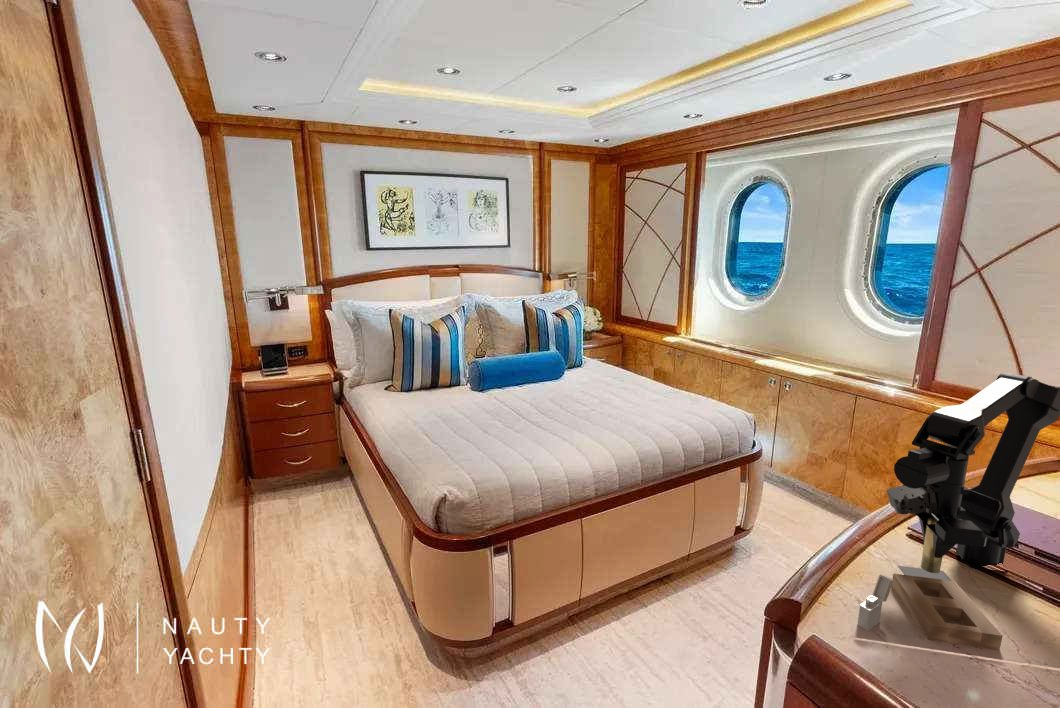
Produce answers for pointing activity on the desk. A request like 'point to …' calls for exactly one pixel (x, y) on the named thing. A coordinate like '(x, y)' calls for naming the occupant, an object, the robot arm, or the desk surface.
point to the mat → (923, 573)
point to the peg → (930, 551)
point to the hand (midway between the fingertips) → (932, 552)
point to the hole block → (945, 612)
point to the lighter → (874, 604)
